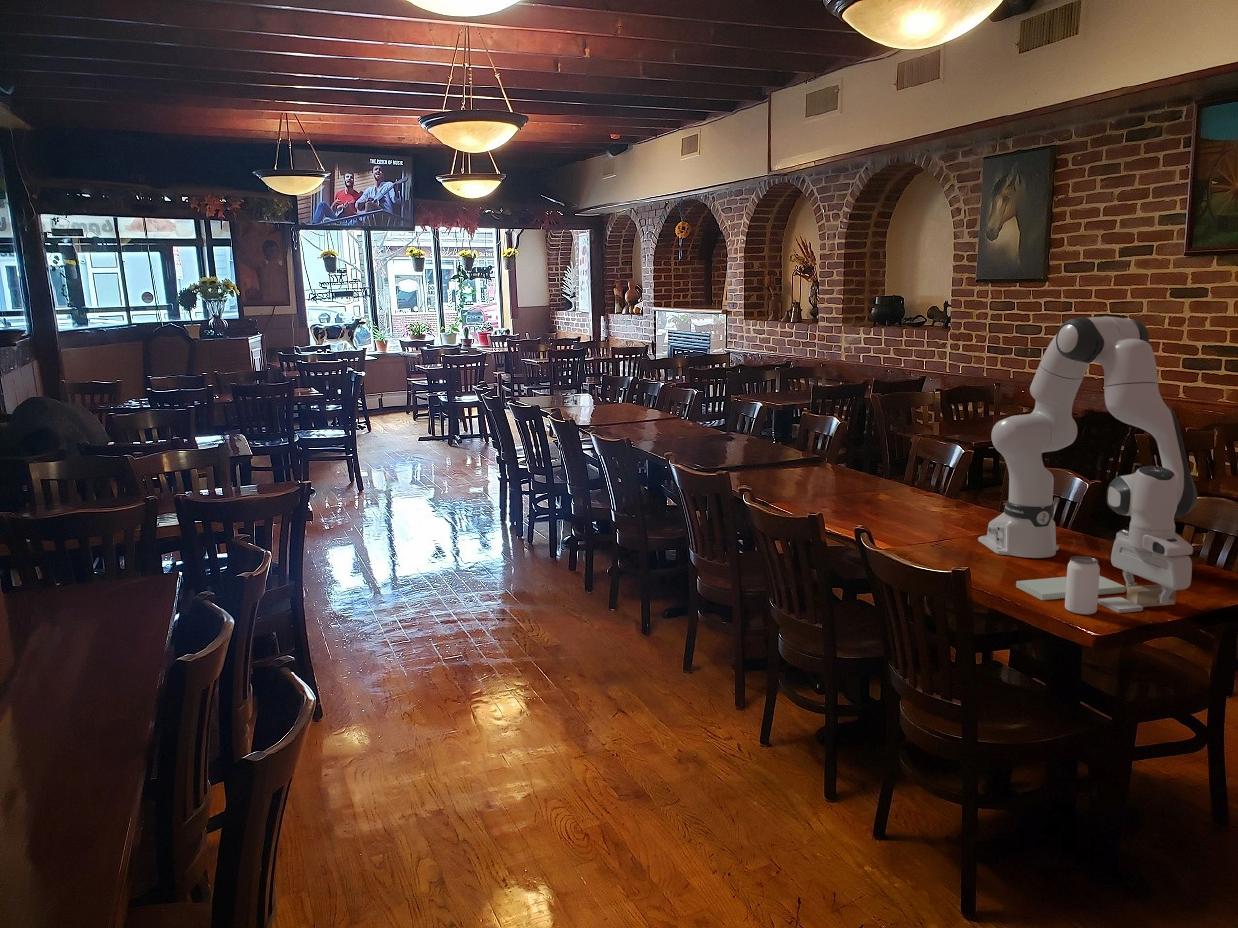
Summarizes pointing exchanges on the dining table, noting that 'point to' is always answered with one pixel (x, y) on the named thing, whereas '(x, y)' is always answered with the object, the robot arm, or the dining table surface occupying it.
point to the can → (1082, 585)
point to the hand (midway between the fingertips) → (1146, 596)
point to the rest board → (1063, 587)
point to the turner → (1137, 599)
